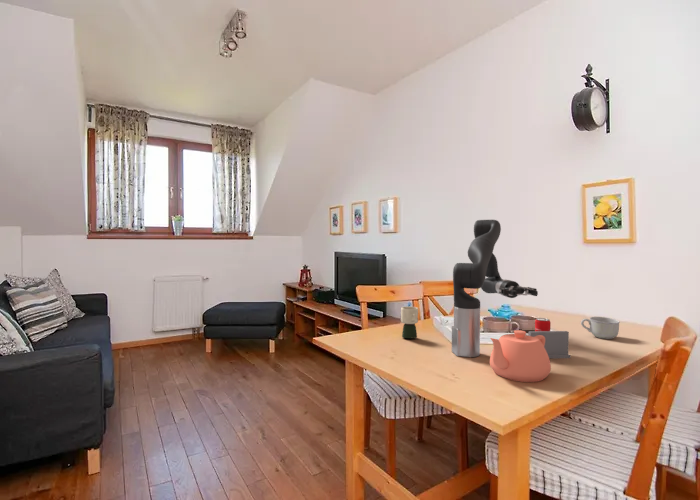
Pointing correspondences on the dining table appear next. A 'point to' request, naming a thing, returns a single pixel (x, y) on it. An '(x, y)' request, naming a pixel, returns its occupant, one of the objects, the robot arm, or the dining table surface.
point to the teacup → (602, 327)
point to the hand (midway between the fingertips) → (526, 293)
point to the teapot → (520, 357)
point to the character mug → (409, 321)
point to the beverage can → (542, 324)
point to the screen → (554, 342)
